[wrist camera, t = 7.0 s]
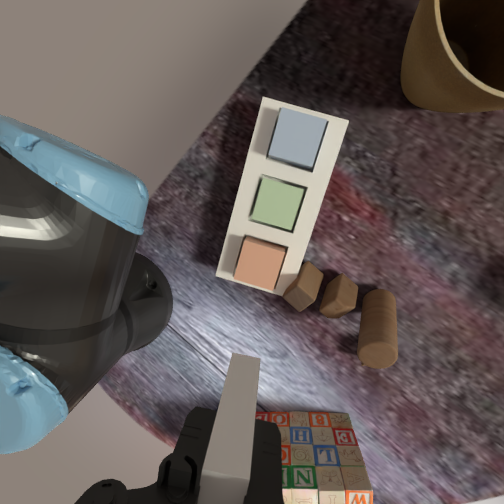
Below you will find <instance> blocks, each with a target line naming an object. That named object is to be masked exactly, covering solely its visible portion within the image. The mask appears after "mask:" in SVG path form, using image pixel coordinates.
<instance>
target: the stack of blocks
mask: <svg viewBox="0 0 504 504" xmlns="http://www.w3.org/2000/svg"><path fill="white" fill-rule="evenodd" d="M255 419H260V420H264V421H269V422H273V423H276V424H277V426H278V428H279V430H280V433H281V448H282V457H281V458H282V488H283V500H284V503H285V504H373V490H372V487H371V483H370V480H369V477H368V474H367V471H366V466H365V463H364V461H363V457H362V454H361V451H360V448H359V445H358V442H357V439H356V436H355V433H354V430H353V427H352V424H351V420H350V417H349V414H348V413H328V412H297V411H290V412H256V414H255Z"/></svg>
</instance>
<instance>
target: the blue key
mask: <svg viewBox="0 0 504 504" xmlns="http://www.w3.org/2000/svg"><path fill="white" fill-rule="evenodd" d="M326 122H327V120H326V119H323V118H319V117H316V116H312V115H309V114H305V113H301V112H298V111H294V110H291V109H287V108H284V107H282V108H281V112H280V115H279V119H278V123H277V126H276V130H275V133H274V137H273V140H272V144H271V147H270V151H269V157H270V158H272V159H275V160H279V161H282V162H286V163H289V164H293V165H296V166H299V167H303V168H306V169H310V168H312V166H313V163H314V160H315V157H316V154H317V150H318V147H319V144H320V141H321V138H322V135H323V132H324V128H325V125H326Z"/></svg>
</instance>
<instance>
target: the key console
mask: <svg viewBox="0 0 504 504" xmlns="http://www.w3.org/2000/svg"><path fill="white" fill-rule="evenodd" d="M282 107H284V108H287V109H291V110H294V111H298V112H301V113H305V114H309V115H312V116H316V117H319V118H323V119H326V120H327V122H326V125H325V128H324V132H323V135H322V138H321V141H320V144H319V147H318V150H317V154H316V157H315V160H314V163H313V166H312V168H310V169H306V168H303V167H299V166H296V165H293V164H289V163H286V162H282V161H279V160H275V159H272V158H270V157H269V151H270V147H271V144H272V140H273V137H274V133H275V130H276V126H277V123H278V119H279V115H280V112H281V108H282ZM348 122H349V121H348V120H345V119H341V118H338V117H334V116H330V115H327V114H323V113H320V112H316V111H312V110H309V109H305V108H302V107H298V106H295V105H291V104H287V103H284V102H280V101H277V100H273V99H270V98H266V97H263V99H262V103H261V106H260V110H259V114H258V118H257V121H256V125H255V129H254V133H253V137H252V140H251V144H250V148H249V152H248V155H247V159H246V163H245V167H244V170H243V174H242V178H241V182H240V186H239V189H238V193H237V197H236V201H235V204H234V208H233V212H232V216H231V219H230V223H229V227H228V231H227V234H226V238H225V242H224V246H223V250H222V253H221V257H220V261H219V265H218V268H217V272H216V276H217V277H221V278H224V279H227V280H231V281H234V282H237V283H241V284H244V285H247V286H250V287H254V288H257V289H260V290H264V291H267V292H270V293H274V294H277V295H280V296H283V294H284V292H285V290H286V288H287V287H288V286H289V285H290V284H291V283H292V282H293V281H294V280H295V279H296V278H297V275H298V272H299V269H300V266H301V263H302V260H303V257H304V254H305V251H306V248H307V245H308V242H309V239H310V236H311V233H312V230H313V227H314V224H315V221H316V218H317V215H318V212H319V209H320V206H321V203H322V200H323V197H324V194H325V191H326V188H327V185H328V182H329V179H330V176H331V173H332V170H333V167H334V164H335V161H336V158H337V155H338V152H339V149H340V146H341V143H342V140H343V137H344V134H345V131H346V128H347V125H348ZM263 178H266V179H270V180H273V181H276V182H280V183H283V184H287V185H290V186H294V187H297V188H301V189H304V191H303V194H302V198H301V201H300V204H299V207H298V210H297V213H296V217H295V220H294V223H293V226H292V229H291V230H288V229H285V228H282V227H278V226H275V225H271V224H268V223H265V222H261V221H258V220H254V219H251V218H252V215H253V211H254V208H255V204H256V201H257V197H258V193H259V190H260V186H261V183H262V179H263ZM247 236H250V237H254V238H257V239H260V240H264V241H267V242H271V243H274V244H277V245H281V246H284V247H285V254H284V258H283V261H282V264H281V267H280V270H279V273H278V276H277V280H276V283H275V286H274V289H273V291H272V290H268V289H265V288H262V287H258V286H255V285H252V284H248V283H245V282H242V281H239V280H235V279H234V275H235V272H236V268H237V265H238V261H239V258H240V254H241V251H242V247H243V243H244V240H245V239H246V237H247Z"/></svg>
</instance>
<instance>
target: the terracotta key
mask: <svg viewBox="0 0 504 504" xmlns="http://www.w3.org/2000/svg"><path fill="white" fill-rule="evenodd" d="M284 254H285V247H284V246H281V245H277V244H274V243H271V242H267V241H264V240H260V239H257V238H254V237H250V236H247V237H246V239H245V240H244V243H243V247H242V251H241V254H240V258H239V261H238V265H237V268H236V272H235V275H234V279H235V280H239V281H242V282H245V283H248V284H252V285H255V286H258V287H262V288H265V289H268V290H272V291H273V289H274V286H275V283H276V280H277V276H278V273H279V270H280V267H281V264H282V261H283V258H284Z"/></svg>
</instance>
